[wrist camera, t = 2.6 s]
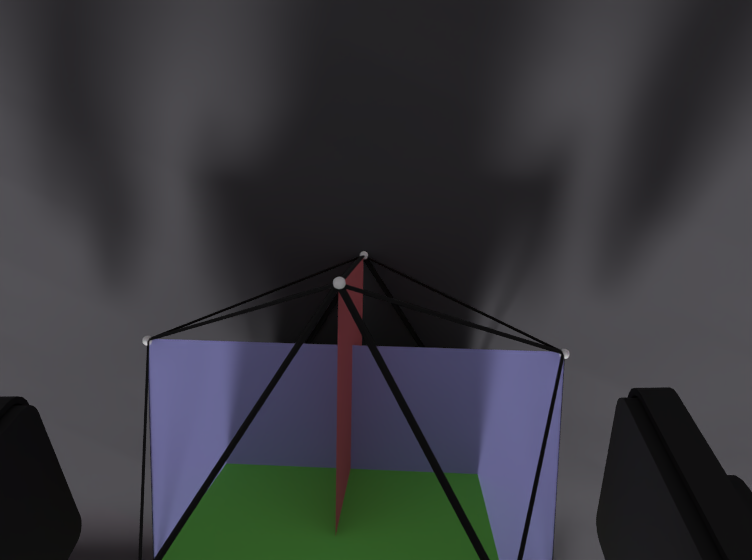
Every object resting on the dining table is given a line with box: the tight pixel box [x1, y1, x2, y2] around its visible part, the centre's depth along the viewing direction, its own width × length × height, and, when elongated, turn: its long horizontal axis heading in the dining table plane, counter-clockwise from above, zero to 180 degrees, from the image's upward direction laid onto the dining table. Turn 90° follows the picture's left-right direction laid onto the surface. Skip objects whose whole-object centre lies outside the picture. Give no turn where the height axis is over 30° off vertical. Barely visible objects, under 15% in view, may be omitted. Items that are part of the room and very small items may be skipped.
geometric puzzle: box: [138, 251, 570, 560], centre depth 10 cm, size 7×7×8 cm
